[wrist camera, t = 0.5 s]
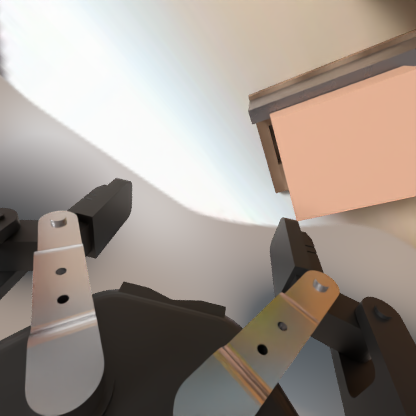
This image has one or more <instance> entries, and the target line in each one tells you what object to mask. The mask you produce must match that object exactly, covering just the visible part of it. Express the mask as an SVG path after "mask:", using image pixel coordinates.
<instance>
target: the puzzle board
mask: <svg viewBox="0 0 416 416" xmlns="http://www.w3.org/2000/svg"><path fill="white" fill-rule="evenodd" d="M401 66H416V29H415V30H412V31H410V32H407V33H405V34H402V35H400V36H397V37H395V38H392V39H390V40H387V41H385V42H382V43H380V44H377V45H375V46H372V47H369V48H367V49H364V50H362V51H359V52H357V53H354V54H352V55H349V56H347V57H344V58H342V59H339V60H337V61H334V62H332V63H329V64H326V65H324V66H321V67H319V68H316V69H314V70H311V71H309V72H306V73H304V74H301V75H299V76H296V77H294V78H291V79H289V80H286V81H283V82H281V83H278V84H276V85H273V86H271V87H268V88H266V89H263V90H261V91H258V92H256V93H253V94H251V95H249V100H250V102H249V110H248V111H249V115H250V118H251V122H252V124H255V123H256V125H257V128H258V132H259V135H260V139H261V142H262V146H263V150H264V153H265V157H266V160H267V164H268V167H269V171H270V174H271V178H272V181H273V185H274V188H275V192H276V193H278V192H282V191H286V190H289V188H288V184H287V181H286V177H285V173H284V169H283V165H282V161H281V159H280V160H277V156H276V152H275V148H274V145H273V141H272V137H271V133H270V129H269V126H270V125H272V122H271V118H270V114H271V113H274V112H276V111H279V110H282V109H285V108H287V107H290V106H293V105H296V104H299V103H301V102H304V101H307V100H310V99H312V98H315V97H318V96H321V95H324V94H326V93H329V92H332V91H335V90H337V89H340V88H343V87H346V86H349V85H351V84H354V83H357V82H360V81H362V80H365V79H368V78H371V77H374V76H376V75H379V74H382V73H385V72H387V71H390V70H393V69H396V68H399V67H401Z"/></svg>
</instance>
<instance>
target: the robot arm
mask: <svg viewBox="0 0 416 416" xmlns="http://www.w3.org/2000/svg"><path fill="white" fill-rule="evenodd" d="M131 208H132V183H131V181H127V180H123V179H119V178H116V179H115V180H113V181H112V182H111V183H110V184H108V185H102V186H100V187H97V188H95V189H94V190H92V191H91V192H90V193H89V194H87V195H86V196H85V197H84V198H83V199H81V200H80V201H79V202H77V203H76V204H75V205H74V206H72V207H71V208H70V209H69V210H67V211H54V212H50V213H48V214H45V215H44V216H42V217H41V218H40V220H19V218H18V214H17V212H16V211H14V210H12V209H8V208H0V299H2V297H3V296H4V295H5V294H6V293H7V292H8V291H9V290H10V289H11V288H12V287H13V286H14V285H15V284H16V283H17V282H18V281H19V280H20V279H21V278H22V277H23V276H24V275H25V274H26V273H27V272H28V271H33V287H32V314H31V326H29V327H26V328H24V329H23V330H20V331H18V332H17V333H14V334H13V335H11V336H9V337H7V338H5V339H3V340H1V341H0V416H299V415H298V413H297V412H296V410H295V409H294V407H293V405H292V404H291V402H290V401H289V399H288V397H287V396H286V394H285V393H284V391H283V389H282V388H281V386H280V385H279V383H278V382H279V380H280V379H281V377H282V376H283V374H284V373H285V372H286V370H287V369H288V367H289V366H290V364H291V363H292V361H293V360H294V359H295V357H296V356H297V354H298V353H299V352H300V350H301V349H302V347H303V346H304V344H305V343H306V342H307V340H308V339H309V337H310V336H311V337H313V338H315V339H317V340H318V341H320V342H322V343H324V344H325V345H327V346H329V347H330V349H331V354H332V359H333V363H334V368H335V372H336V377H337V381H338V385H339V390H340V394H341V399H342V403H343V407H344V412H345V416H416V344H415V343H414V341H413V339H412V337H411V335H410V333H409V331H408V330H407V328H406V326H405V324H404V322H403V320H402V319H401V317H400V315H399V314H398V313H397V312H396V311H395V310H394V309H393V308H392V307H391V306H390V305H388V304H387V303H385V302H384V301H382V300H379V299H377V298H374V297H366V298H364V299H363V300H362V301H361V302H360V303H359V302H357V301H355V300H353V299H351V298H349V297H347V296H344V295H343V294H341V293H340V292H339V287H338V285H337V284H336V283H335V282H334V280H333V279H332V278H330V277H329V276H327V275H326V274H324V273H323V270H322V267H321V264H320V262H319V259H318V256H317V254H316V250H315V248H314V244H313V242H312V239H311V238H310V237H309V236H308V235H307V234H306V232H302V231H301V230H300V227H299V223H298V221H296V220H292V219H288V218H284V217H283V218H281V220H280V222H279V225H278V227H277V229H276V232H275V234H274V237H273V239H272V242H271V246H270V257H271V265H272V275H273V284H274V293H275V298H274V299H273V300H272V301H271V302H270V303H269V304H268V305H267V306H266V307H265V308H264V309H263V310H262V311H261V312H260V313H259V314H258V315H257V316H256V317H255V318H254V319H253V320H252V321H251V322H249V323H248V325H246V326H245V327H244V328H242V327H241V326H240V325H238V324H237V323H236V322H235V321H233V320H232V319H230V318H229V317H227V316H225V310H226V307H224V306H220V305H216V304H212V303H208V302H204V301H193V300H172V299H169V298H167V297H166V296H163V295H162V294H160V293H158V292H156V291H154V290H152V289H150V288H147V287H143V286H139V285H135V284H131V283H127V282H123V284H122V285H121V287H120V289H115V290H106V291H102V292H98V293H95V294H92V292H91V288H90V281H89V276H88V270H87V265H86V259H85V257H86V256H88V257H92V258H97V257H98V255H99V254H100V253H101V252H102V250H103V249H104V248H105V246H106V245H107V244H108V243H109V241H110V240H111V239H112V237H113V236H114V235H115V234H116V232H117V231H118V230H119V228H120V227H121V226H122V225H123V224H124V222H125V221H126V220H127V219H128V217H129V215H130V212H131Z"/></svg>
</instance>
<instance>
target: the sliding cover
mask: <svg viewBox="0 0 416 416" xmlns="http://www.w3.org/2000/svg"><path fill="white" fill-rule="evenodd" d="M270 118H271V122H272V126H273V130H274V134H275V137H276V141H277V145H278V149H279V153H280V157H281V161H282V165H283V169H284V173H285V177H286V181H287V184H288V188H289V192H290V196H291V200H292V204H293V208H294V212H295V216H296V219H297V221H301V220H306V219H310V218H315V217H320V216H325V215H329V214H334V213H339V212H343V211H348V210H353V209H358V208H362V207H367V206H372V205H377V204H381V203H386V202H391V201H396V200H400V199H405V198H410V197H415V196H416V66H401V67H399V68H396V69H393V70H390V71H387V72H385V73H382V74H379V75H376V76H374V77H371V78H368V79H365V80H362V81H360V82H357V83H354V84H351V85H349V86H346V87H343V88H340V89H337V90H335V91H332V92H329V93H326V94H324V95H321V96H318V97H315V98H312V99H310V100H307V101H304V102H301V103H299V104H296V105H293V106H290V107H287V108H285V109H282V110H279V111H276V112H274V113H271V114H270Z"/></svg>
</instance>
